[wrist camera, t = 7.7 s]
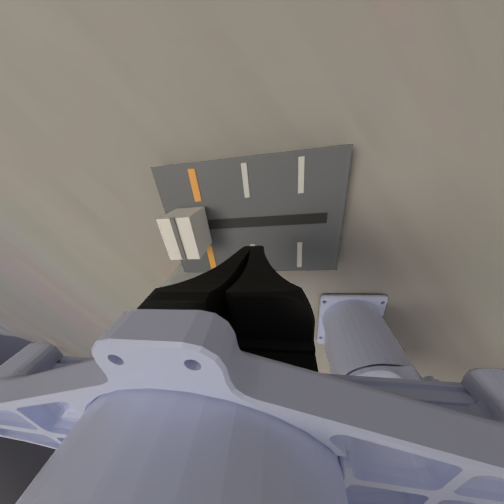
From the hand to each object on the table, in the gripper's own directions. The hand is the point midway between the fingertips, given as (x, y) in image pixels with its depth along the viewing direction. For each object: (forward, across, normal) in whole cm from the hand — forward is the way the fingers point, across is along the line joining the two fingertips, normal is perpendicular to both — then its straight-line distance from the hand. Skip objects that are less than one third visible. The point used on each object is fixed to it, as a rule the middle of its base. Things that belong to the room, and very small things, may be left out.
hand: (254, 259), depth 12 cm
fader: (+7, +7, 0) cm, 10 cm away
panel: (+9, +1, 0) cm, 9 cm away
